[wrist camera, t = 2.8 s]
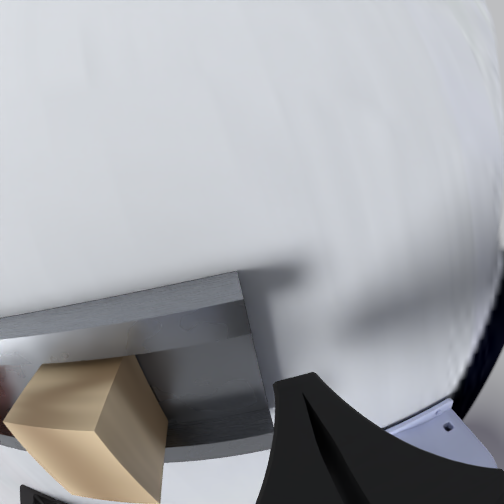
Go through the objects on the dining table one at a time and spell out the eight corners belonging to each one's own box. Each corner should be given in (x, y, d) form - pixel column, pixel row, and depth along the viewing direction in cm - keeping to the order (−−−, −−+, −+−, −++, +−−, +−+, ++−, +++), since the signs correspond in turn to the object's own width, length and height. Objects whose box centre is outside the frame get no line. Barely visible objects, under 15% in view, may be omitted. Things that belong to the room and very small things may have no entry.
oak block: (129, 342, 10) (94, 431, 5) (168, 420, 11) (160, 503, 7) (51, 352, 10) (2, 421, 5) (95, 424, 11) (71, 494, 6)
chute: (236, 270, 11) (252, 335, 6) (269, 409, 13) (288, 482, 8) (-48, 326, 10) (-88, 361, 5) (7, 419, 12) (-17, 462, 7)
